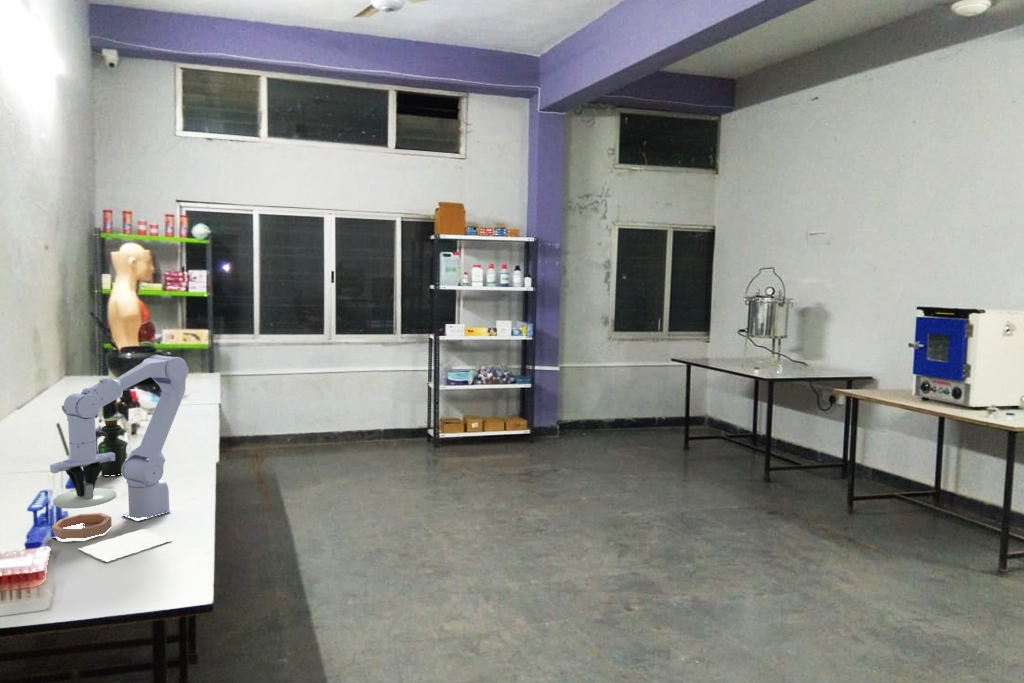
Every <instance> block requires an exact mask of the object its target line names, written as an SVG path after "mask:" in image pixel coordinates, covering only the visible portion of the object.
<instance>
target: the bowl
mask: <svg viewBox="0 0 1024 683" xmlns="http://www.w3.org/2000/svg"><path fill="white" fill-rule="evenodd" d="M80 523H84V524H85V525H84V524H83V526H85V528H84V527H83V528H82V529H63V527H67V526H71V525H76V524H80ZM112 523H113V522H112V516H110V515H108V514H105V513H102V512H95V513H79V514H76V515H72V516H68V517H65V518H61V519H59V520H57V521H56V522H55V523H54V524H53V525H52V526H51V531H52V530H53V533H54V535H55V536H57V537H59V538H61V539H66V538H87V537H91V536H95V535H99V534H103V533H105V532H106V531H107V530H108V529H109V528H110V527H111V526H112V525H113V524H112Z"/></svg>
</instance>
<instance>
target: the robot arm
mask: <svg viewBox="0 0 1024 683" xmlns="http://www.w3.org/2000/svg"><path fill="white" fill-rule="evenodd" d="M189 372H190V369H189V367H188V364H187V362H186V360H185V359H184V358H182V357H179V356H174V357H173V356H167V355H161V354H154V355H151V356H150V357H147V358H145V359H143V361H142V362H141V363H140V364H138V365H136V366H135V367H133V368H131V369H129V370H127V372H124V373H123V374H121V375H120V376H118V377H116V378H115V379H114V378H112V377H106V378H105V377H102V378H101V379H98V381H99V382H98V383H96V384H94V385H92V386H90V387H85V388H83V389H82V391H81V392H80V393H79V392H77V393H76V392H75V393H71V394H69V395H68V396H67V397H66V398H65V400H64V402H63V404H62V405H61V411H62V412H63V414H65V415H66V419H67V422H68V423H67V424H68V445H69V447H68V448H69V449H68V450H69V458H68V459H65V460H61V461H58V462H55V463H51V464H49V469H50V470H49V471H50V473H52V474H59V472H60V473H61V472H64V471H65V473H66V475H68V477H69V479H70V480H71V482H72V485H73V486H74V489H75V491H76V493H77V495H78V496H80V497H82V496H84V481H85V482H88V483H90V484H93V491H94V488H95V486H96V483H97V479H98V478H99V475H100V473H102V472H101V470H102V465H100V463H102V462H107V461H115V453H112V452H109V453H103V454H99V453H97V438H96V416H97V415H98V414H99V412H100V410H101V408H103V407H105V406H107V405H108V404H110V403H113V402H114V401H116V400H117V399H119V398H121V397H122V395H123V392H124V390H127V389H128V388H130V387H132V386H134V385H137V384H139V383H140V382H142V381H145V380H146V379H149V378H151V379H152V380H154V382H155V383H156V384H157V385H158V386H159V389H160V391H161V394H160V397H159V398H158V401H157V403H156V405H155V408H154V410H153V413H152V415H151V417H150V421H149V423H148V425H147V428H146V430H145V433H144V435H143V438H142V439H141V443H140V445H139V446H137V447H136V448H135V449H132V451H130V454H129V456H128V457H127V458H126V459H125V462H124V463H123V465H122V468H121V473H122V475H121V476H122V477H123V478H124V479H126V484H127V490H128V491H127V495H128V498H127V499H128V512H129V513H128V512H126V513H127V514H129V515H127V514H124V513H122V514H123V515H127V517H128V516H130V517H134V518H135V517H136V518H141V517H147V518H148V517H151V516H155V515H158V514H162V513H166V512H169V513H171V512H172V510H170V494H169V493H170V492H169V485H168V483H167V482H166V480H164V479H162V477H163V476H164V465H165V462H166V458H165V456H164V454H163V452H162V451H163V447H164V445H165V442H166V440H167V437H168V435H169V432H170V430H171V428H172V425H173V423H174V420H175V418H176V415H177V413H178V411H179V408H180V406H181V403H182V400H183V398H184V395H185V393H186V384H187V383H186V379H187V377H188V374H189ZM170 511H171V512H170ZM166 514H167V513H166ZM127 517H126V518H127Z"/></svg>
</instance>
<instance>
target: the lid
mask: <svg viewBox="0 0 1024 683" xmlns="http://www.w3.org/2000/svg"><path fill="white" fill-rule="evenodd" d="M115 498H117V492H116V491H115V490H114V489H109V488H100V487H99V488H95V487H94V491H93V484H90V483H88V482H85V480H84V496H82V497H80V496H78V495H77V493H76V490H73V491H68V492H64V493H63V494H60V495H58V496H56V497H55V498H53V501H52V505H53V506H55V507H56V508H61V509H81V508H82V509H83V508H89V507H95V506H99V505H103V504H106V503H108V502H111V501H113V500H114V499H115Z"/></svg>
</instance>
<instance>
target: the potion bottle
mask: <svg viewBox="0 0 1024 683" xmlns="http://www.w3.org/2000/svg"><path fill="white" fill-rule="evenodd" d="M118 419H119V418H115V417H112V418H111V417H110V418H105V419H104V424H105V425H103V426H102V427H101V429H100V431H101V432H103V433H104V435H105V436H106V437H105V439H103V441H101V442H99V444H98V445H97V450H98V454H103V453H109V452H112V453H115V461H107V462H102V463H100V465H102V470H101V472H100V473H101V476H103V475H109V476H111V475H118V474H121V468H122V465H123V463H124V462H125V461H126V459H127V458H126V456H127V443H126V441H125V440H123V439H121V438H118V434H119V432H120V431H121V430H123V429H122V426H121V424H118Z"/></svg>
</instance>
